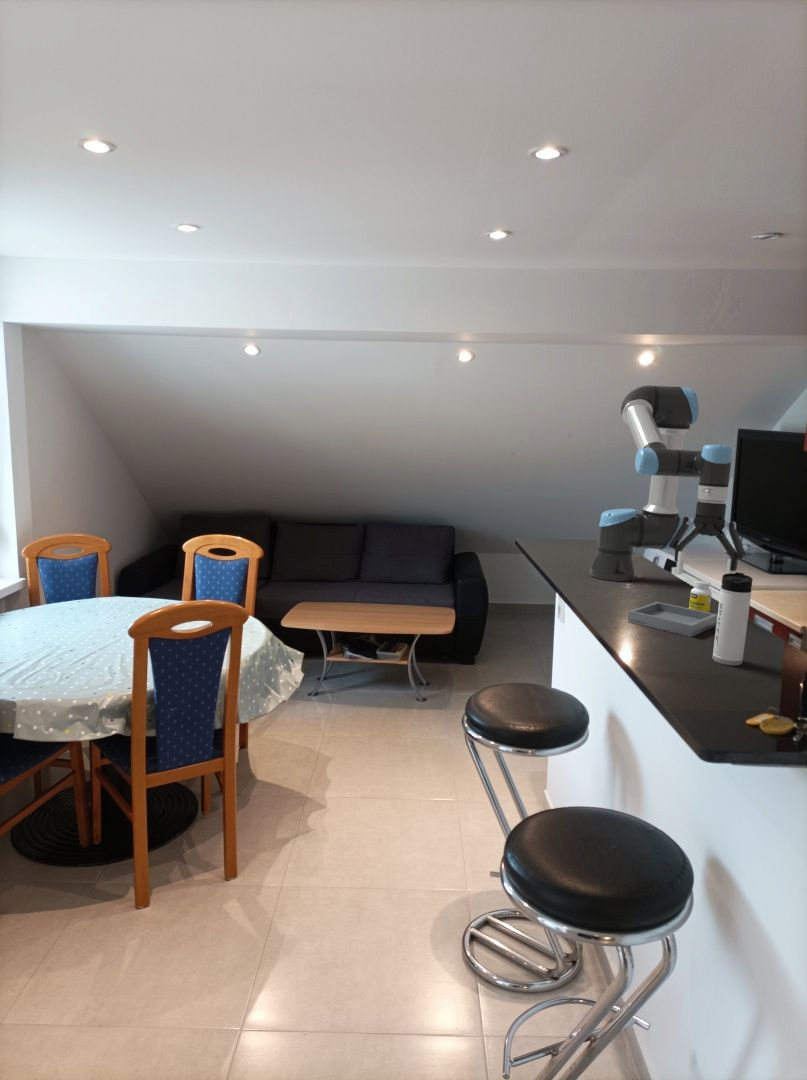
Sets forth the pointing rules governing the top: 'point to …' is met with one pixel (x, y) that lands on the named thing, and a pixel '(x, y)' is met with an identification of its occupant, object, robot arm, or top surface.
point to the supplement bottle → (700, 596)
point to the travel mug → (732, 619)
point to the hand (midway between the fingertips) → (703, 578)
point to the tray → (673, 618)
